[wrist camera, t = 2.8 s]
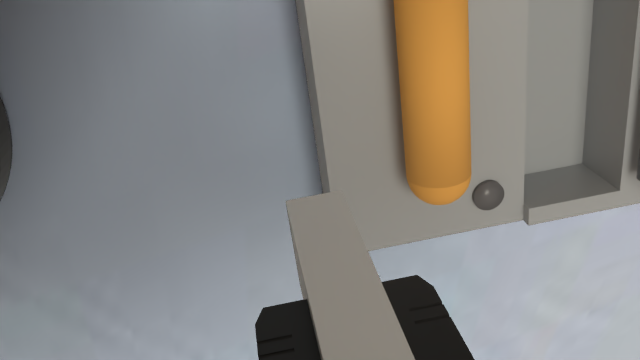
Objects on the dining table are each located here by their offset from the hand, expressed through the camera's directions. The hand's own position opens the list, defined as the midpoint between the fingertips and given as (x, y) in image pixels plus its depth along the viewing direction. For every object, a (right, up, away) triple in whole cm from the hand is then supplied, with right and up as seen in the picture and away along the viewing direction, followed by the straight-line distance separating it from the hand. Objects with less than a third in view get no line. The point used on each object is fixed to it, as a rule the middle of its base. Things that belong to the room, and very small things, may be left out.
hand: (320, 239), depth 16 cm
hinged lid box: (+7, +9, +15) cm, 19 cm away
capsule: (+5, +6, +10) cm, 13 cm away
